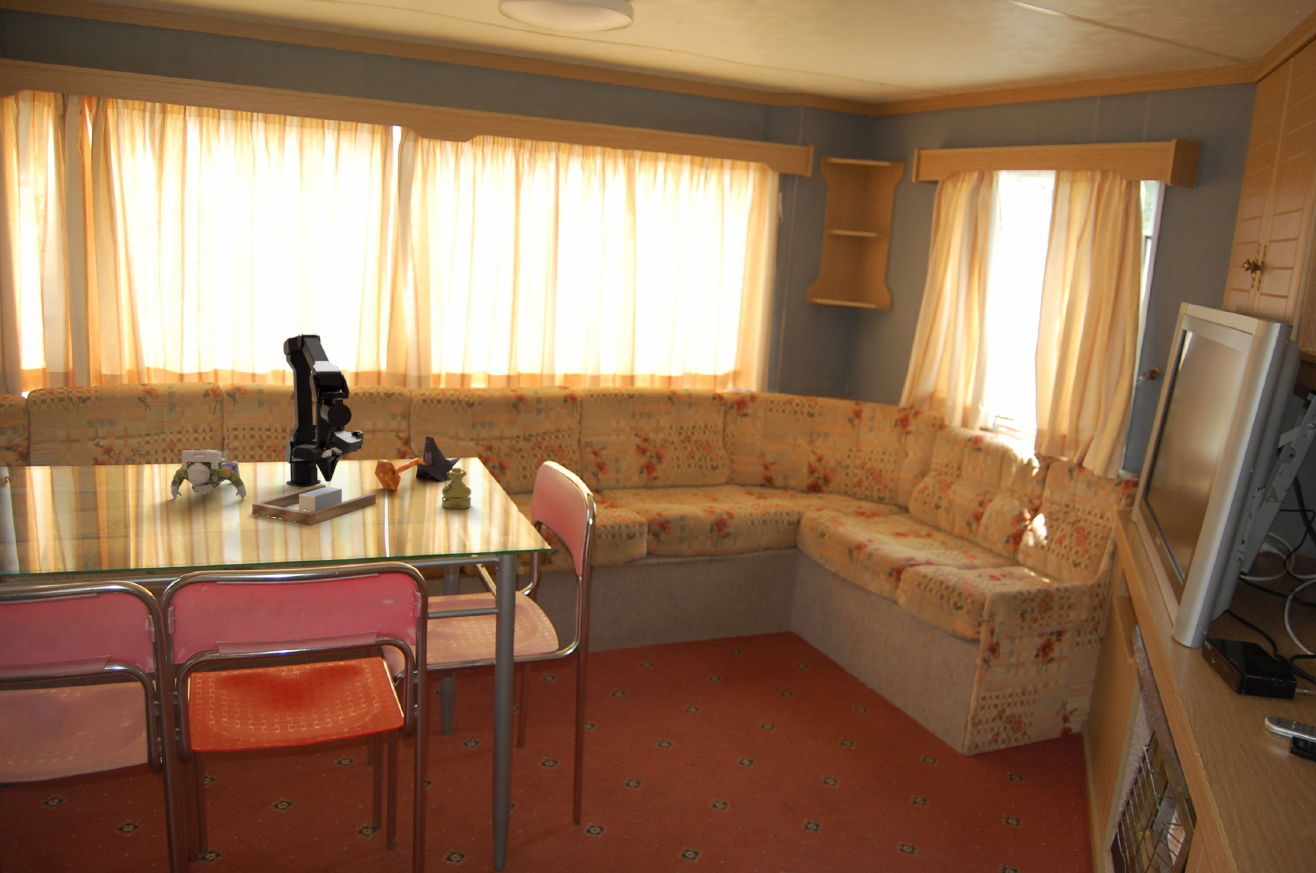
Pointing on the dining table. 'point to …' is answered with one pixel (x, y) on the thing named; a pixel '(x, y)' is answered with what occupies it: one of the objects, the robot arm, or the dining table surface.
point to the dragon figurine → (429, 466)
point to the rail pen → (276, 509)
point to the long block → (320, 498)
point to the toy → (206, 472)
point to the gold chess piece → (456, 491)
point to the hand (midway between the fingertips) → (328, 481)
